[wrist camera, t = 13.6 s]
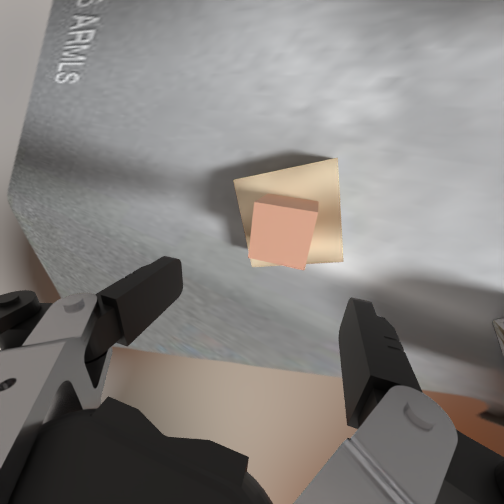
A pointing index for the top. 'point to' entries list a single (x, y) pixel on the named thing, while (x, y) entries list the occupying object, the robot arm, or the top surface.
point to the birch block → (304, 187)
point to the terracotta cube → (282, 230)
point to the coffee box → (500, 332)
